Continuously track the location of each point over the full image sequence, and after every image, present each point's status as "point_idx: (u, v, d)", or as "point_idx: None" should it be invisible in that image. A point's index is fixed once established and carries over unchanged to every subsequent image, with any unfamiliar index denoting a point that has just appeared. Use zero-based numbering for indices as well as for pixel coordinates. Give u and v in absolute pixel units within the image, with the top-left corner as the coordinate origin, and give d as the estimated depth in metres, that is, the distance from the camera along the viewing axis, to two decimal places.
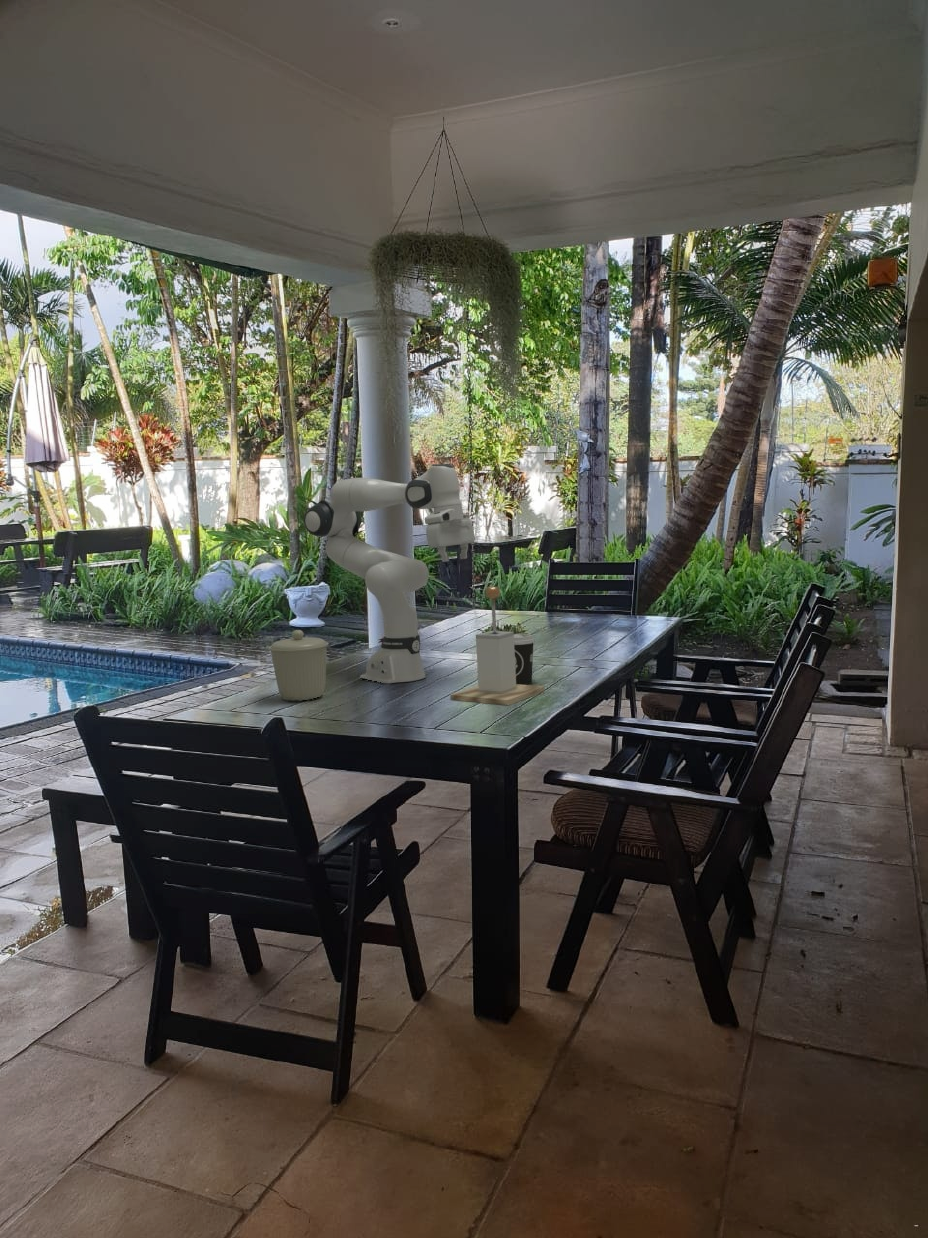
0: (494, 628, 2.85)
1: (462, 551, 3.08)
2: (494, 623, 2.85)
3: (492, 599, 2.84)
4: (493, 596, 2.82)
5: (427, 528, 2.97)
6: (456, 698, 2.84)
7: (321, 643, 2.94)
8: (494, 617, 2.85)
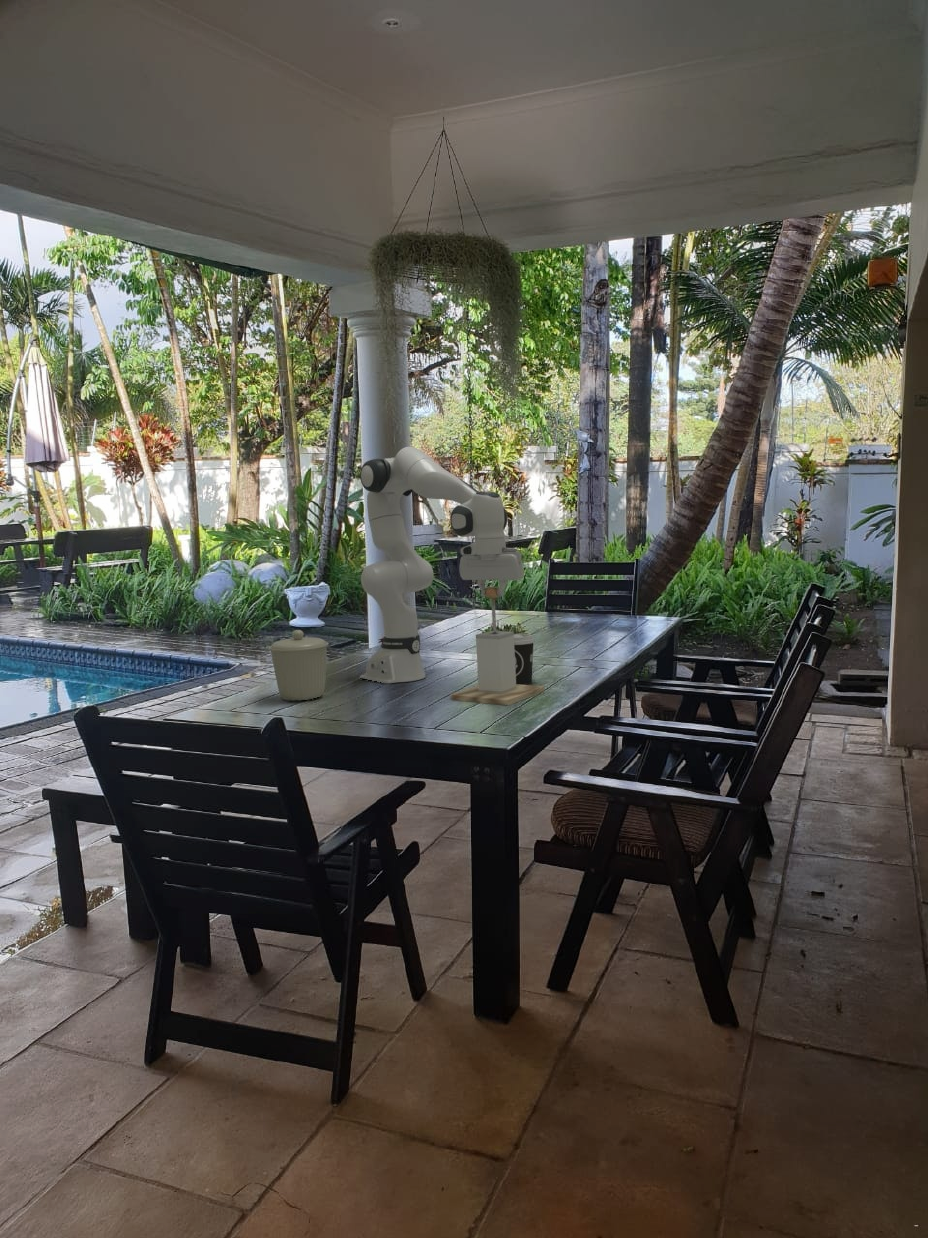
0: (494, 628, 2.85)
1: None
2: (494, 623, 2.85)
3: (492, 599, 2.84)
4: (493, 596, 2.82)
5: None
6: (456, 698, 2.84)
7: (321, 643, 2.94)
8: (494, 617, 2.85)
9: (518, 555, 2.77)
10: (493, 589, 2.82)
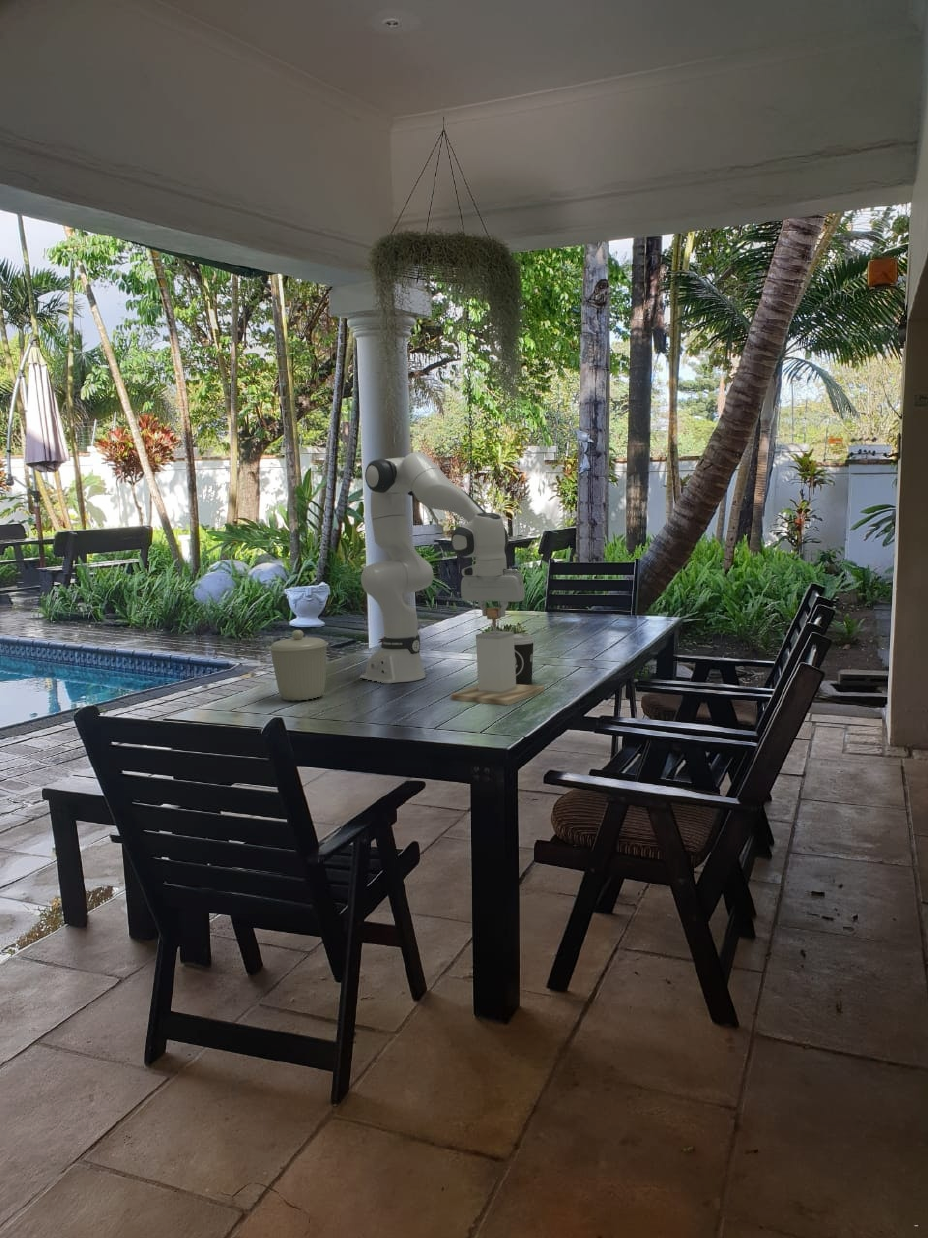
0: None
1: None
2: None
3: (493, 620, 2.85)
4: (494, 617, 2.83)
5: None
6: (456, 698, 2.84)
7: (321, 643, 2.94)
8: None
9: (519, 576, 2.78)
10: (494, 610, 2.83)
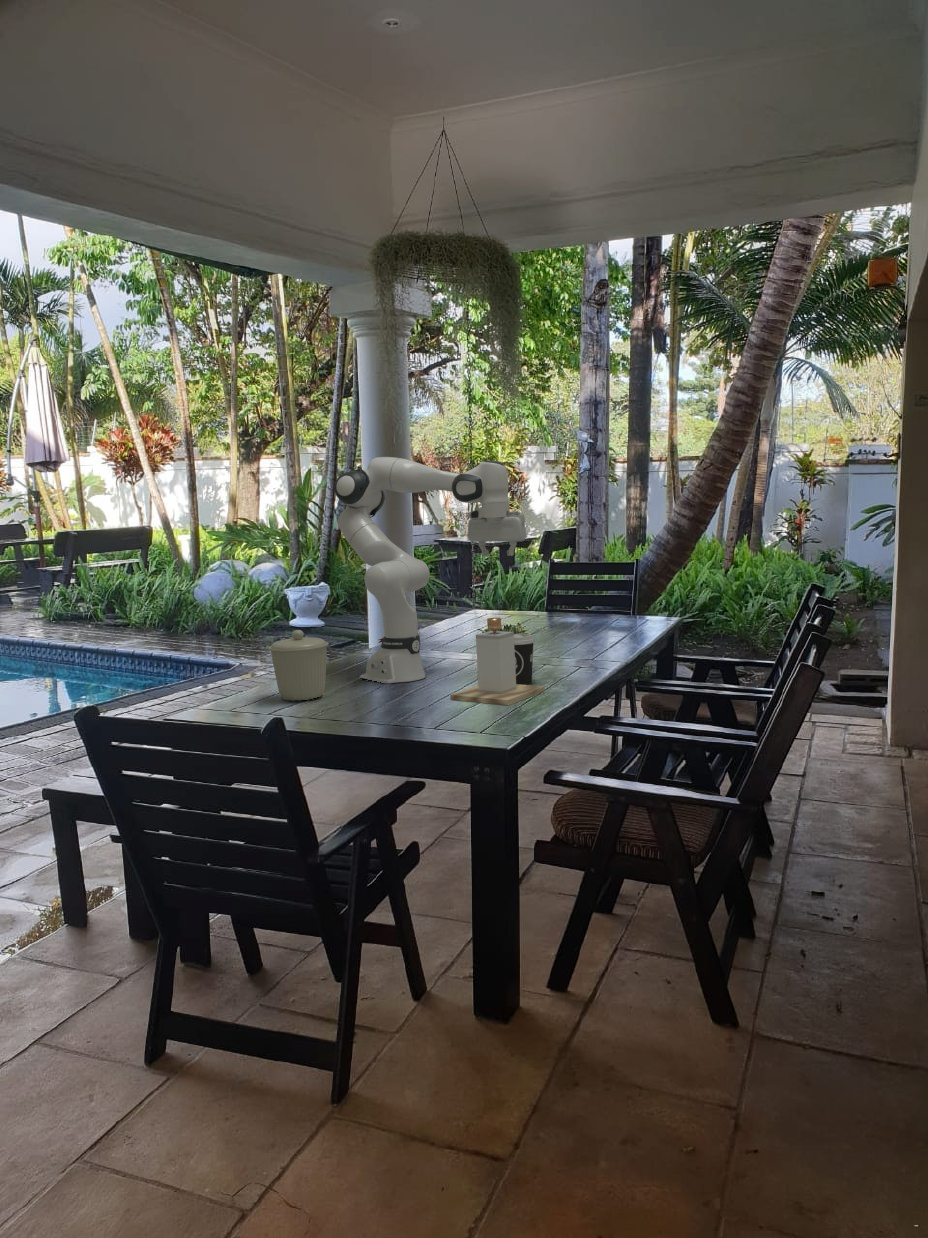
0: None
1: None
2: None
3: (494, 630, 2.85)
4: (494, 627, 2.83)
5: None
6: (456, 698, 2.84)
7: (321, 643, 2.94)
8: None
9: (521, 518, 3.04)
10: (495, 620, 2.83)
